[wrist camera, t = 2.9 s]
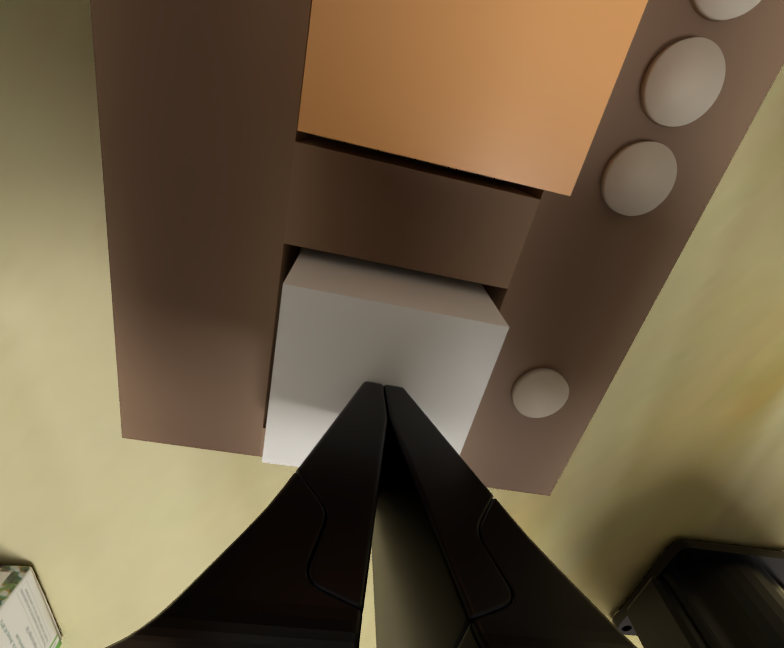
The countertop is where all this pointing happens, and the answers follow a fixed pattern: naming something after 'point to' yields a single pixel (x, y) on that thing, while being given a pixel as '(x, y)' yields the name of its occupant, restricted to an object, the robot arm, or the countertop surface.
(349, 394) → the one dot button
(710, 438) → the countertop surface
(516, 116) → the three dot button
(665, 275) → the walnut button panel
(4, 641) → the syrup box
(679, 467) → the countertop surface
